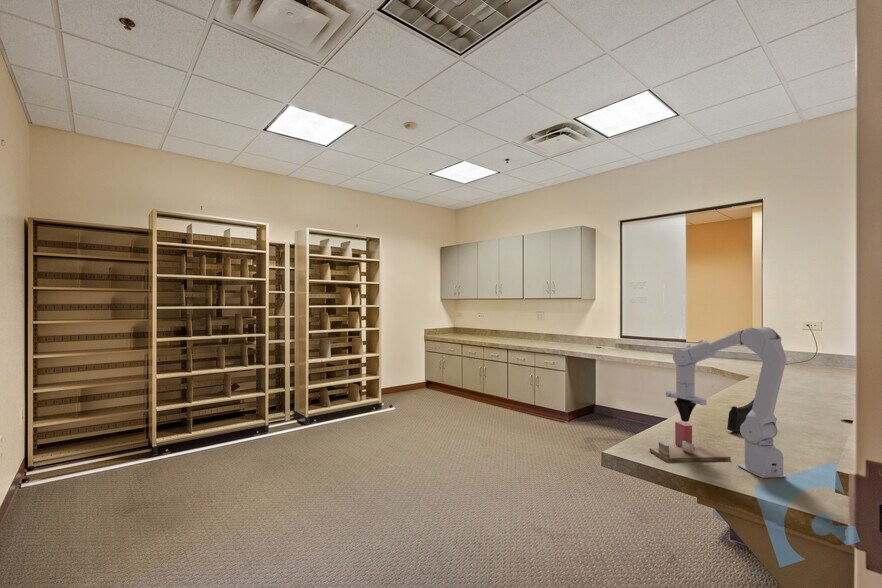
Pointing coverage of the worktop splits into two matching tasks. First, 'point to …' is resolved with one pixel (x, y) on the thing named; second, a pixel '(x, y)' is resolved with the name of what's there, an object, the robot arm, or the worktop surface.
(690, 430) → the book
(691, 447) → the sliding bookend
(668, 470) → the worktop surface
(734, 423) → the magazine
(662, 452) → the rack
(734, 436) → the worktop surface
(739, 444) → the worktop surface
